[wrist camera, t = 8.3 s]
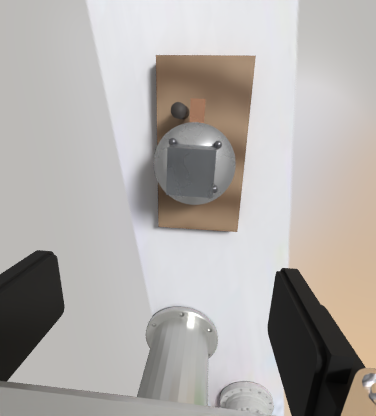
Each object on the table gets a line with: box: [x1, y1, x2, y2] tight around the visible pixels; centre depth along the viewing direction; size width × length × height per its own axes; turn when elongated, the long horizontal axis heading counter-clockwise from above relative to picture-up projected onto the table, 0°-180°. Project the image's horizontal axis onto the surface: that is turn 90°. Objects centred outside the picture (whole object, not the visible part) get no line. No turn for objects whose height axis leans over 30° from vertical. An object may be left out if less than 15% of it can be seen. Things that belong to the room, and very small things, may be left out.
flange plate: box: [154, 98, 236, 205], centre depth 24 cm, size 11×9×6 cm
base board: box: [156, 55, 256, 232], centre depth 29 cm, size 21×11×6 cm, turn 179°
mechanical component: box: [220, 382, 274, 415], centre depth 44 cm, size 10×4×10 cm
